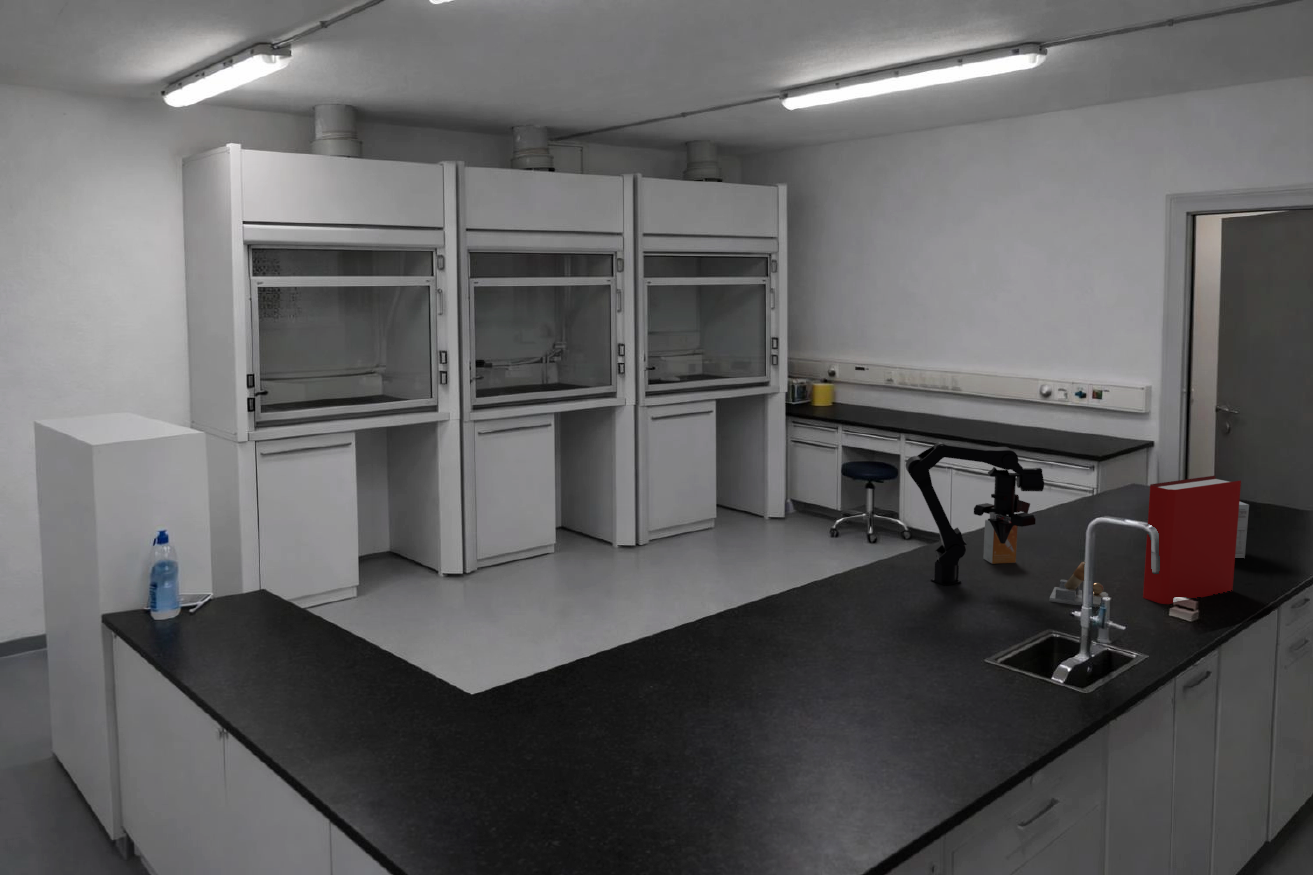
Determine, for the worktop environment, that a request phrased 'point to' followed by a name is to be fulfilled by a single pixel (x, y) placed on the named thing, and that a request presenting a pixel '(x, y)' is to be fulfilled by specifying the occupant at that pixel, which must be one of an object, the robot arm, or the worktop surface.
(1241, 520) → the supplement box
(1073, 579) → the lever
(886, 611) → the worktop surface
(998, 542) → the small box
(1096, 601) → the nutcracker base
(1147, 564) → the book
